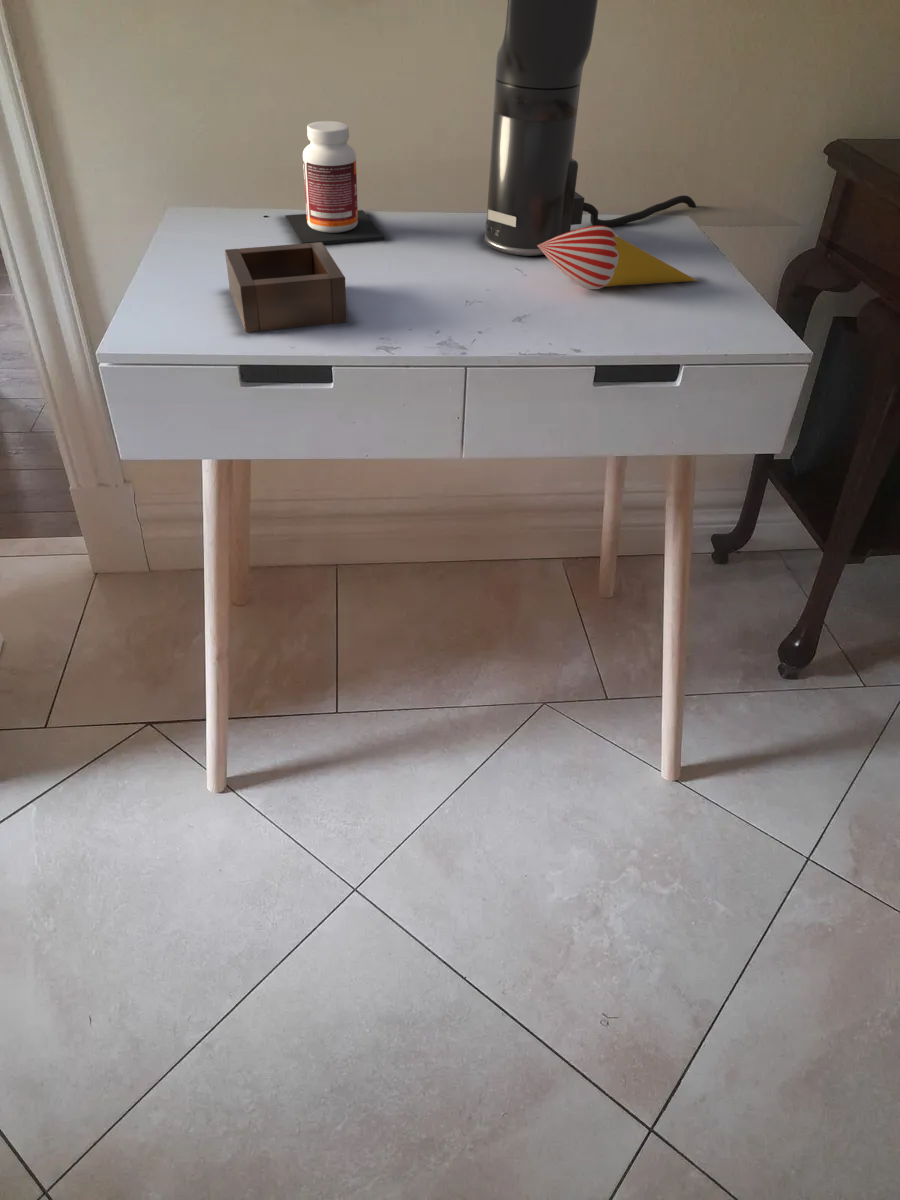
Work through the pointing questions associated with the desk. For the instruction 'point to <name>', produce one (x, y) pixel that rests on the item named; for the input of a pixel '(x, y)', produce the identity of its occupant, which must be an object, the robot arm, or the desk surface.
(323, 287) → the holder
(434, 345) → the desk surface
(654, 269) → the ice cream cone
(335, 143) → the pill bottle
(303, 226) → the coaster
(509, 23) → the robot arm
